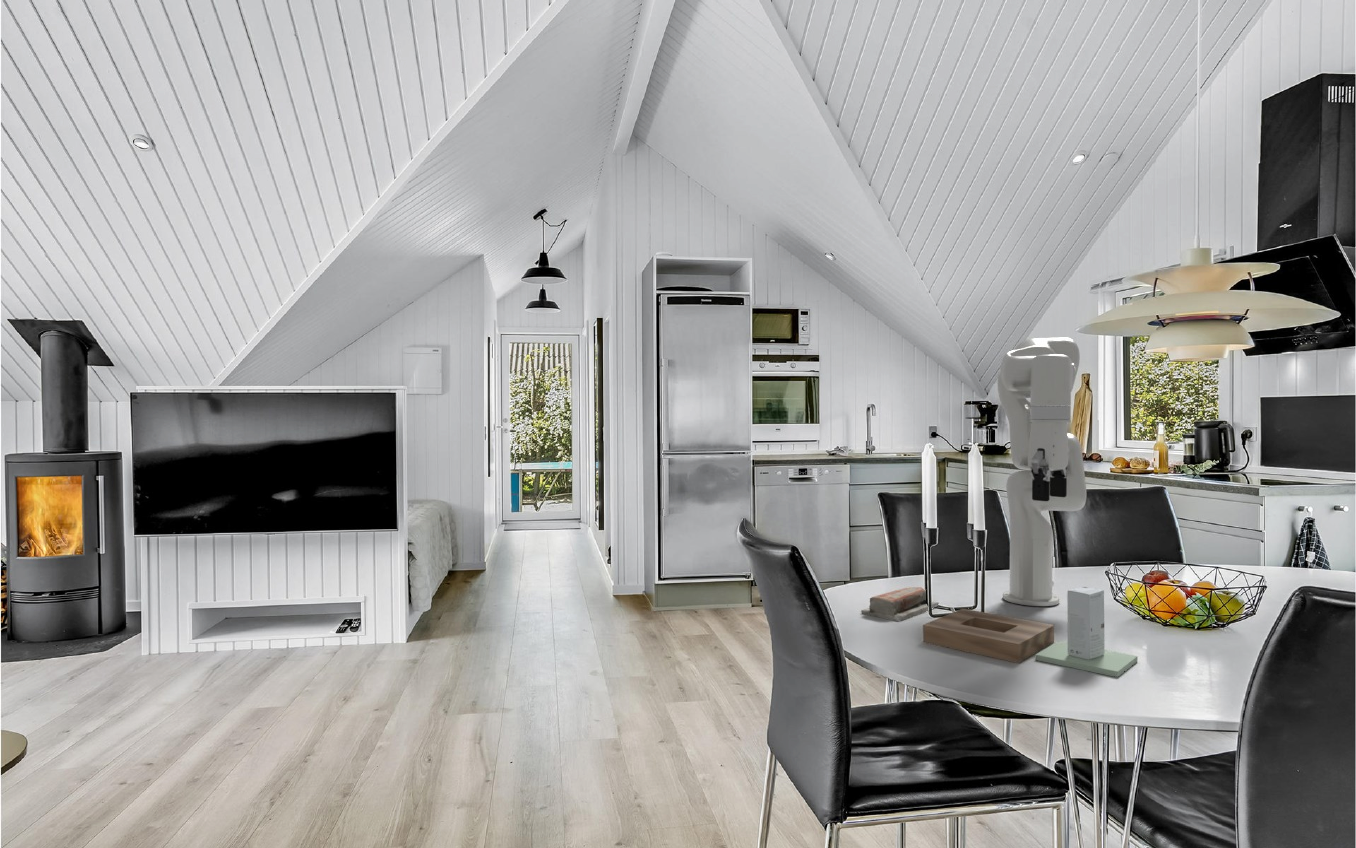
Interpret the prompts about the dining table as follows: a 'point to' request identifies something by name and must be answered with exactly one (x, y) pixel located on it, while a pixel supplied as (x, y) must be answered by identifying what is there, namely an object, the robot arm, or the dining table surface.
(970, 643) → the pocket block
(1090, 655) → the skincare box
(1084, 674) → the dining table surface
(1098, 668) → the mat
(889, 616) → the pink and beige block
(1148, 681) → the dining table surface
